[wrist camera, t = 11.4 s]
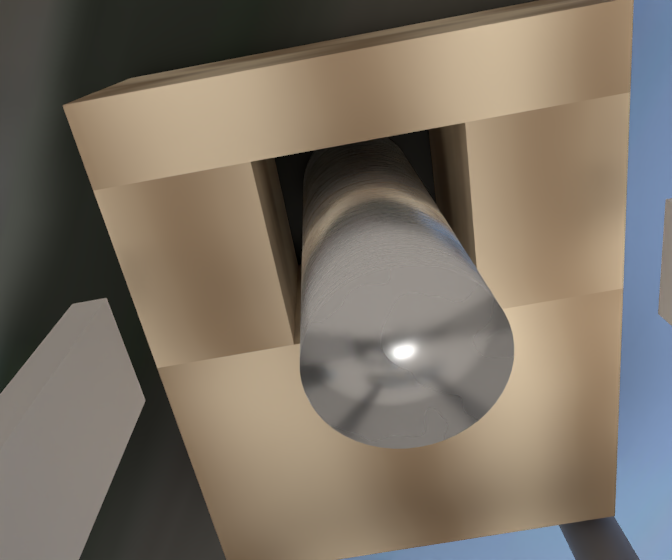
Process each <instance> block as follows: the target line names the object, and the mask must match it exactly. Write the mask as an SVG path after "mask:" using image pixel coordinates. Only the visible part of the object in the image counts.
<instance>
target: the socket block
mask: <svg viewBox="0 0 672 560" xmlns="http://www.w3.org/2000/svg"><path fill="white" fill-rule="evenodd" d="M633 2H634V0H539V1H533V2H528V3H523V4H518V5H512V6H507V7H502V8H497V9H491V10H486V11H481V12H476V13H470V14H465V15H460V16H455V17H449V18H444V19H439V20H434V21H428V22H423V23H418V24H413V25H407V26H402V27H397V28H392V29H386V30H381V31H376V32H371V33H365V34H360V35H355V36H350V37H344V38H339V39H334V40H328V41H323V42H318V43H313V44H307V45H302V46H297V47H292V48H286V49H281V50H276V51H271V52H265V53H260V54H255V55H250V56H244V57H239V58H234V59H229V60H223V61H218V62H213V63H208V64H202V65H197V66H192V67H187V68H181V69H176V70H171V71H166V72H160V73H155V74H150V75H145V76H139V77H134V78H129V79H127V80H124V81H122V82H119V83H117V84H114V85H112V86H110V87H107V88H105V89H102V90H100V91H97V92H95V93H92V94H90V95H87V96H85V97H82V98H80V99H77V100H75V101H72V102H70V103H67V104H65V105H63V108H64V111H65V113H66V116H67V119H68V122H69V125H70V127H71V130H72V133H73V136H74V138H75V141H76V144H77V147H78V150H79V152H80V155H81V158H82V161H83V163H84V166H85V169H86V172H87V174H88V177H89V180H90V183H91V186H92V188H93V191H94V194H95V197H96V199H97V202H98V205H99V208H100V211H101V213H102V216H103V219H104V222H105V224H106V227H107V230H108V233H109V236H110V238H111V241H112V244H113V247H114V249H115V252H116V255H117V258H118V260H119V263H120V266H121V269H122V272H123V274H124V277H125V280H126V283H127V285H128V288H129V291H130V294H131V297H132V299H133V302H134V305H135V308H136V310H137V313H138V316H139V319H140V322H141V324H142V327H143V330H144V333H145V335H146V338H147V341H148V344H149V346H150V349H151V352H152V355H153V358H154V360H155V363H156V366H157V369H158V371H159V374H160V377H161V380H162V383H163V385H164V388H165V391H166V394H167V396H168V399H169V402H170V405H171V408H172V410H173V413H174V416H175V419H176V421H177V424H178V427H179V430H180V432H181V435H182V438H183V441H184V444H185V446H186V449H187V452H188V455H189V457H190V460H191V463H192V466H193V469H194V471H195V474H196V477H197V480H198V482H199V485H200V488H201V491H202V494H203V496H204V499H205V502H206V505H207V507H208V510H209V513H210V516H211V518H212V521H213V524H214V527H215V530H216V532H217V535H218V538H219V541H220V543H221V546H222V549H223V552H224V555H225V557H226V560H337V559H344V558H350V557H356V556H363V555H369V554H376V553H382V552H388V551H395V550H401V549H408V548H414V547H420V546H427V545H433V544H439V543H446V542H452V541H459V540H465V539H471V538H478V537H484V536H491V535H497V534H503V533H510V532H516V531H523V530H529V529H535V528H542V527H548V526H554V525H561V524H567V523H574V522H580V521H586V520H593V519H599V518H606V517H612V516H615V499H616V471H617V443H618V416H619V388H620V361H621V333H622V306H623V278H624V250H625V223H626V195H627V168H628V140H629V113H630V85H631V57H632V30H633ZM427 129H428V131H429V140H430V150H431V159H432V168H433V178H434V187H435V197H436V205H437V207H438V208H439V210H440V211H441V213H442V215H443V216H444V218H445V219H446V221H447V223H448V224H449V226H450V227H451V229H452V230H453V232H454V234H455V235H456V237H457V238H458V240H459V241H460V243H461V245H462V246H463V248H464V249H465V251H466V253H467V254H468V256H469V257H470V259H471V260H472V262H473V264H474V265H475V267H476V268H477V270H478V271H479V273H480V275H481V276H482V278H483V279H484V281H485V282H486V284H487V286H488V287H489V289H490V290H491V292H492V294H493V295H494V297H495V298H496V300H497V301H498V303H499V305H500V306H501V308H502V309H503V311H504V313H505V315H506V317H507V319H508V321H509V323H510V327H511V330H512V333H513V340H514V361H513V367H512V371H511V374H510V377H509V380H508V383H507V385H506V387H505V389H504V391H503V393H502V394H501V396H500V397H499V399H498V400H497V402H496V403H495V404H494V405H493V406H492V408H491V409H490V410H489V411H488V412H487V413H486V414H485V415H484V416H483V417H482V418H481V419H480V420H478V421H477V422H476V423H474V424H473V425H472V426H470V427H469V428H468V429H466V430H464V431H462V432H461V433H459V434H457V435H455V436H453V437H451V438H448V439H446V440H444V441H441V442H437V443H434V444H431V445H426V446H422V447H415V448H407V449H391V448H381V447H376V446H371V445H367V444H363V443H360V442H357V441H355V440H353V439H350V438H348V437H346V436H344V435H342V434H341V433H339V432H338V431H336V430H334V429H333V428H332V427H331V426H329V425H328V424H327V423H326V422H325V421H324V420H323V419H322V418H321V417H320V416H319V415H318V414H317V413H316V411H315V410H314V408H313V407H312V406H311V404H310V402H309V400H308V398H307V396H306V394H305V391H304V388H303V385H302V382H301V376H300V321H301V274H302V264H300V265H298V263H297V258H296V253H295V249H294V244H293V240H292V235H291V231H290V226H289V222H288V217H287V213H286V208H285V204H284V199H283V194H282V190H281V185H280V181H279V176H278V172H277V167H276V163H275V158H274V157H280V156H285V155H291V154H296V153H302V152H307V151H312V150H318V149H323V148H329V147H334V146H340V145H345V144H351V143H356V142H362V141H367V140H372V139H378V138H383V137H389V136H394V135H400V134H405V133H411V132H416V131H422V130H427Z"/></svg>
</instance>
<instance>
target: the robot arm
mask: <svg viewBox="0 0 672 560" xmlns="http://www.w3.org/2000/svg"><path fill="white" fill-rule="evenodd" d="M658 314H659V315H660V316H661V317H662V318H664V319H665V320H666V321H667V322H668V323H669V324H670V325H672V198H671V199H666V203H665V218H664V234H663V249H662V264H661V279H660V294H659V310H658ZM145 401H146V400H145V398H144V395H143V392H142V390H141V387H140V384H139V382H138V379H137V377H136V374H135V371H134V369H133V366H132V363H131V361H130V358H129V356H128V353H127V350H126V348H125V345H124V342H123V340H122V337H121V335H120V332H119V329H118V327H117V324H116V321H115V319H114V316H113V314H112V311H111V308H110V306H109V303H108V300H107V298H103V299H98V300H92V301H86V302H81V303H75V304H72V305H71V306H70V308H69V309H68V310H67V311H66V313H65V314H64V315H63V316H62V318H61V319H60V320H59V321H58V323H57V324H56V325H55V326H54V328H53V329H52V330H51V331H50V333H49V334H48V335H47V336H46V338H45V339H44V340H43V341H42V343H41V344H40V345H39V346H38V348H37V349H36V350H35V351H34V353H33V354H32V355H31V356H30V358H29V359H28V360H27V361H26V363H25V364H24V365H23V366H22V368H21V369H20V370H19V371H18V373H17V374H16V375H15V376H14V378H13V379H12V380H11V381H10V383H9V384H8V385H7V386H6V388H5V389H4V390H3V391H2V393H1V394H0V560H79V558H80V556H81V553H82V551H83V549H84V546H85V544H86V541H87V539H88V537H89V534H90V532H91V529H92V527H93V525H94V522H95V520H96V518H97V515H98V513H99V510H100V508H101V506H102V503H103V501H104V498H105V496H106V494H107V491H108V489H109V486H110V484H111V482H112V479H113V477H114V475H115V472H116V470H117V467H118V465H119V463H120V460H121V458H122V455H123V453H124V451H125V448H126V446H127V444H128V441H129V439H130V436H131V434H132V432H133V429H134V427H135V424H136V422H137V420H138V417H139V415H140V412H141V410H142V408H143V405H144V403H145Z"/></svg>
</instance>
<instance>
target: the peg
mask: <svg viewBox="0 0 672 560" xmlns="http://www.w3.org/2000/svg"><path fill="white" fill-rule="evenodd" d="M513 361H514V340H513V333H512V330H511V327H510V323H509V321H508V319H507V317H506V315H505V313H504V311H503V309H502V308H501V306H500V305H499V303H498V301H497V300H496V298H495V297H494V295H493V294H492V292H491V290H490V289H489V287H488V286H487V284H486V282H485V281H484V279H483V278H482V276H481V275H480V273H479V271H478V270H477V268H476V267H475V265H474V264H473V262H472V260H471V259H470V257H469V256H468V254H467V253H466V251H465V249H464V248H463V246H462V245H461V243H460V241H459V240H458V238H457V237H456V235H455V234H454V232H453V230H452V229H451V227H450V226H449V224H448V223H447V221H446V219H445V218H444V216H443V215H442V213H441V211H440V210H439V208H438V207H437V205H436V204H435V202H434V200H433V199H432V197H431V196H430V194H429V193H428V191H427V189H426V188H425V186H424V185H423V183H422V182H421V180H420V178H419V177H418V175H417V174H416V172H415V170H414V169H413V167H412V166H411V164H410V163H409V161H408V159H407V158H406V156H405V155H404V153H403V152H402V150H401V149H400V148H399V147H398V146H397V145H396V143H394V142H393V141H392V140H391V139H389V138H388V137H383V138H378V139H372V140H367V141H362V142H356V143H351V144H345V145H340V146H334V147H329V148H323V149H318V150H315V151H314V153H313V154H312V156H311V157H310V159H309V161H308V163H307V166H306V169H305V173H304V180H303V226H302V274H301V321H300V376H301V382H302V385H303V388H304V391H305V394H306V396H307V398H308V400H309V402H310V404H311V406H312V407H313V408H314V410H315V411H316V413H317V414H318V415H319V416H320V417H321V418H322V419H323V420H324V421H325V422H326V423H327V424H328V425H329V426H331V427H332V428H333V429H334V430H336V431H338V432H339V433H341V434H342V435H344V436H346V437H348V438H350V439H353V440H355V441H357V442H360V443H363V444H367V445H371V446H376V447H381V448H391V449H407V448H415V447H422V446H426V445H431V444H434V443H437V442H441V441H444V440H446V439H448V438H451V437H453V436H455V435H457V434H459V433H461V432H462V431H464V430H466V429H468V428H469V427H470V426H472V425H473V424H474V423H476V422H477V421H478V420H480V419H481V418H482V417H483V416H484V415H485V414H486V413H487V412H488V411H489V410H490V409H491V408H492V406H493V405H494V404H495V403H496V402H497V400H498V399H499V397H500V396H501V394H502V393H503V391H504V389H505V387H506V385H507V383H508V380H509V377H510V374H511V371H512V367H513Z"/></svg>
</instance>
